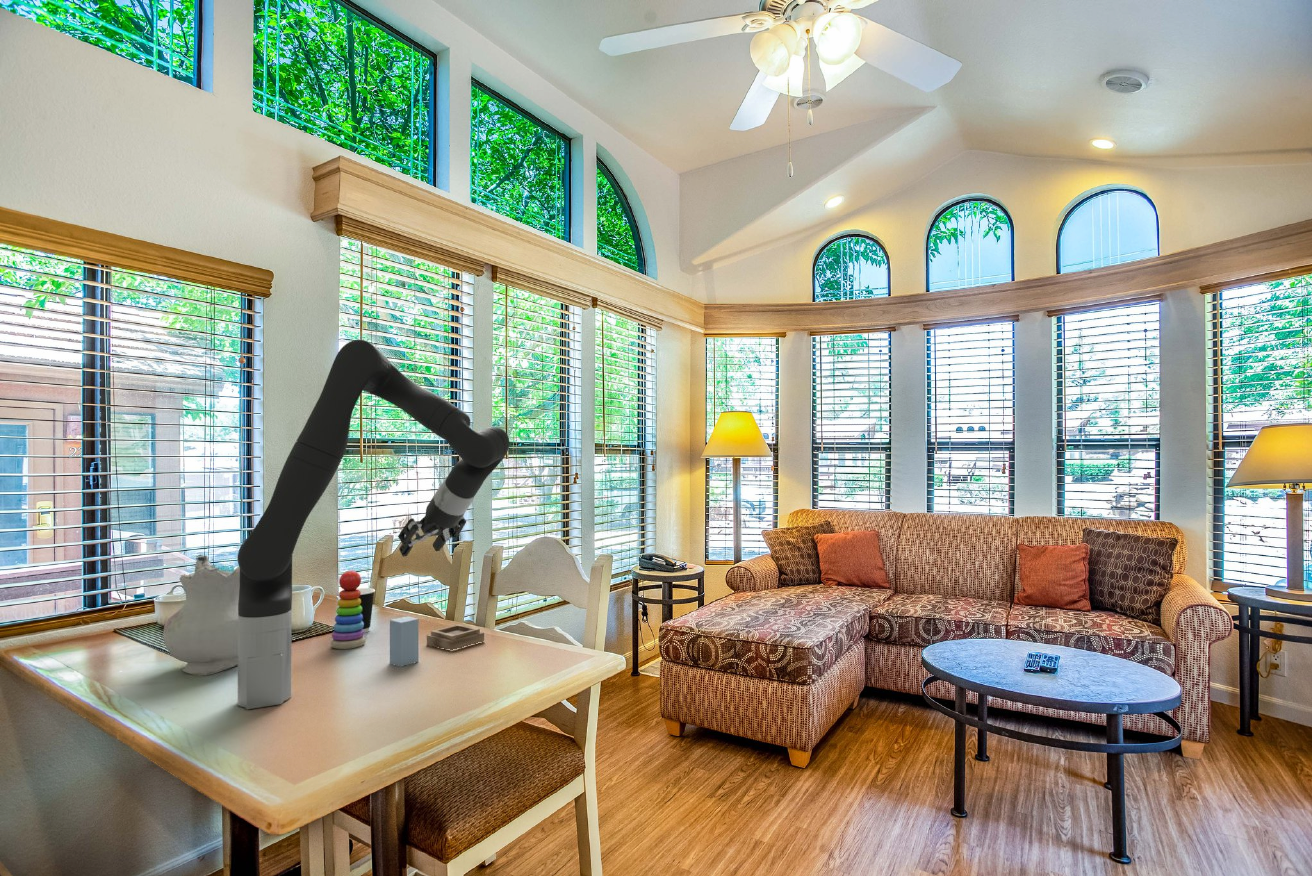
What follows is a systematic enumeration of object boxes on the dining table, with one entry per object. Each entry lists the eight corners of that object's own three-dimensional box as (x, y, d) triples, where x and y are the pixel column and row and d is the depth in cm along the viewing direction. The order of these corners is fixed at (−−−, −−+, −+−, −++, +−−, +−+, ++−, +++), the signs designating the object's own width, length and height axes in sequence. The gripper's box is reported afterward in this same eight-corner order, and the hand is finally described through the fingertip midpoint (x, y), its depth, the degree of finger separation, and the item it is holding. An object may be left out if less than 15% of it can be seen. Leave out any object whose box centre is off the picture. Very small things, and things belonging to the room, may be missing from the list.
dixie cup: (377, 626, 194) (377, 587, 194) (372, 633, 186) (373, 592, 186) (346, 628, 192) (346, 588, 192) (341, 636, 184) (341, 594, 184)
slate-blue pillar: (418, 662, 161) (418, 618, 161) (401, 667, 157) (401, 622, 157) (406, 658, 163) (407, 616, 164) (389, 663, 160) (389, 620, 160)
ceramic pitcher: (142, 674, 156) (133, 565, 155) (229, 646, 173) (222, 547, 172) (197, 690, 146) (188, 573, 145) (284, 658, 163) (277, 553, 162)
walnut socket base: (484, 642, 177) (484, 628, 177) (451, 651, 169) (451, 637, 169) (459, 636, 183) (459, 623, 183) (426, 645, 175) (426, 631, 175)
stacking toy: (356, 650, 171) (357, 574, 171) (324, 650, 171) (325, 574, 171) (370, 641, 179) (371, 568, 179) (340, 641, 179) (340, 568, 179)
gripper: (469, 487, 156) (438, 534, 163) (414, 491, 145) (383, 542, 151) (485, 511, 153) (453, 559, 160) (430, 517, 142) (398, 568, 148)
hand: (419, 550), depth 155 cm, fingers open, 8 cm apart
